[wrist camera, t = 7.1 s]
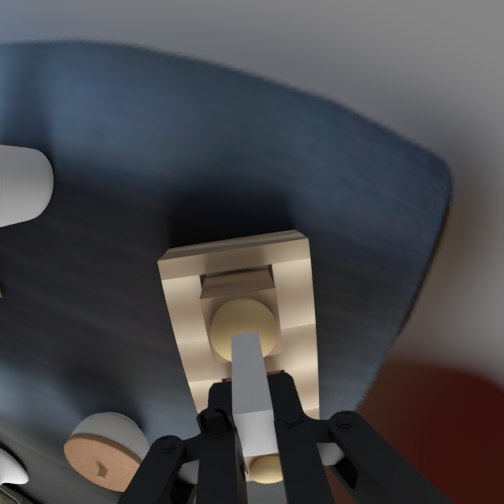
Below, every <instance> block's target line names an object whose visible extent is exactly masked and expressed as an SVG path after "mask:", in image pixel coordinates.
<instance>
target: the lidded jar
mask: <svg viewBox="0 0 504 504" xmlns="http://www.w3.org/2000/svg"><path fill="white" fill-rule="evenodd" d="M149 449H150V446H149V443H148V441H147V439H146V437H145V435H144V433H143V432H142V431H141V430H140V428H139V427H138V425H137V424H136V423H135V422H134V421H133V420H131V419H130V418H129V417H127V416H125V415H123V414H120V413H116V412H106V413H96V414H93V415H90V416H88V417H87V418H85V419H83V420H82V421H81V422H80V423H79V424H78V425H77V426H76V428H75V429H74V430H73V432H72V434H71V436H70V437H69V438H68V439H67V441H66V443H65V445H64V453H65V456H66V458H67V460H68V462H69V463H70V464H71V466H72V467H73V468H74V469H75V470H76V471H77V472H78V473H80V474H81V475H82V476H84V477H85V478H87V479H88V480H90V481H91V482H93V483H95V484H97V485H100V486H102V487H105V488H107V489H111V490H115V491H120V492H124V491H125V490H126V488H127V486H128V485H129V483H130V481H131V480H132V478H133V476H134V474H135V473H136V471H137V469H138V468H139V466H140V464H141V463H142V461H143V459H144V457H145V456H146V454H147V452H148V451H149Z"/></svg>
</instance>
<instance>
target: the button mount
mask: <svg viewBox="0 0 504 504" xmlns="http://www.w3.org/2000/svg"><path fill="white" fill-rule="evenodd" d="M157 262H158V266H159V271H160V276H161V280H162V285H163V289H164V294H165V298H166V302H167V306H168V311H169V315H170V319H171V323H172V326H173V330H174V334H175V338H176V342H177V345H178V349H179V353H180V356H181V360H182V363H183V367H184V370H185V373H186V377H187V380H188V383H189V387H190V390H191V393H192V396H193V399H194V402H195V406H196V409H197V412H198V414H199V413H200V412H201V411H202V410H204V409H206V408H207V405H208V393H209V389H210V387H211V386H212V385H213V383H218V382H226V379H227V378H232V361H229V362H221V363H213V358H212V354H211V350H210V345H209V341H208V337H207V332H206V328H205V323H204V318H203V314H202V309H201V304H200V296H201V292H202V288H203V284H204V280H205V277H211V276H217V275H224V274H231V273H238V272H244V271H251V270H258V269H264V268H267V269H268V272H269V274H270V276H271V278H272V280H273V283H274V285H275V287H276V293H277V302H278V310H279V319H280V327H281V336H282V345H283V353H282V354H276V355H270V356H265V357H263V360H264V365H265V370H266V373H268V372H275V371H280V373H283V372H287V373H288V374H290V375H291V376H292V377H293V379H294V383H295V386H296V389H297V392H298V395H299V398H300V402H301V405H302V408H303V411H304V413H305V414H306V415H307V416H309V417H311V418H313V419H318V420H319V388H318V362H317V342H316V325H315V310H314V296H313V284H312V272H311V261H310V250H309V240H308V238H307V237H305V236H304V235H302V234H301V233H300V232H298V231H297V230H289V231H282V232H275V233H268V234H261V235H255V236H248V237H241V238H234V239H228V240H221V241H215V242H208V243H202V244H195V245H189V246H182V247H176V248H170V249H168V250H167V251H166V253H165V254H164V255H163V256H162V257H161V258H160V259H159V260H158V261H157ZM243 461H244V456H243ZM244 465H245V473H246V481H250V478H249V475H248V471H247V468H246V464H245V461H244Z"/></svg>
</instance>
